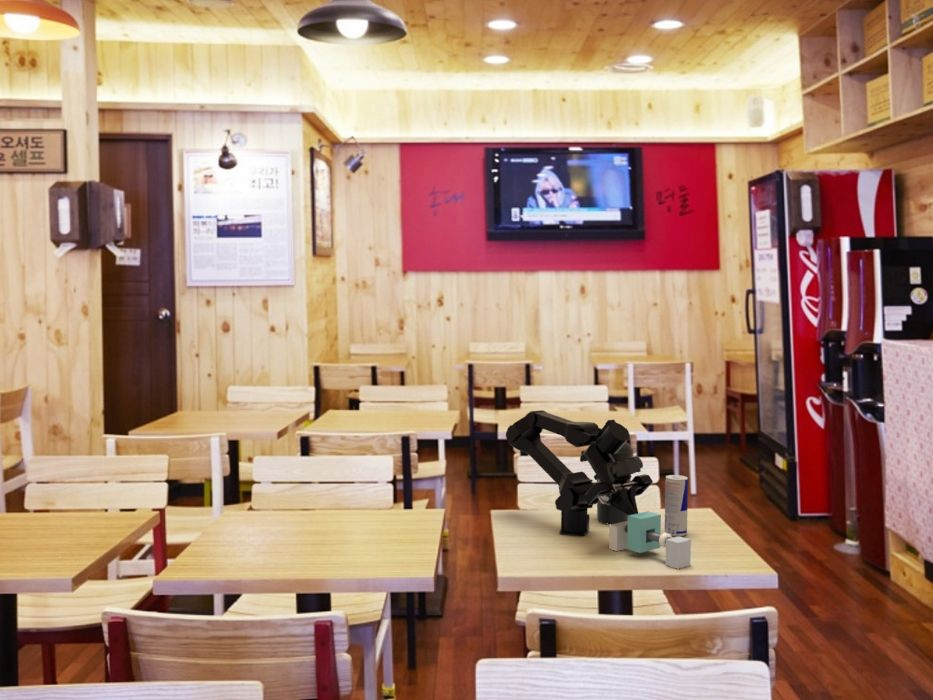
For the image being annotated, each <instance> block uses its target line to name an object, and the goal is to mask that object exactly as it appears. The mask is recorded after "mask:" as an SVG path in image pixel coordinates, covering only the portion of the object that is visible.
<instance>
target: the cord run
mask: <svg viewBox="0 0 933 700" xmlns="http://www.w3.org/2000/svg"><path fill="white" fill-rule="evenodd" d="M608 537H609V540H608V541H609V542H608V545H609V547H608V549H609V550H610V549H612V550H611V551H613V550H615V551H614V552H616V551H618V552H620V551H619V550H622V551H624V550H623V549H626V550H628V549H627V539H628V521H625V522H620V523H616V524H611V525H609V534H608ZM646 539H650V540H653V541H656V542H659V544H660V547H663V548H665V566H666V565H668V566H667V567H669V566H670V567H671V568H673V569H676V568H677V569H676V570H679V568H680V569H683V568H687V567H690V566H691V558H692V557H691V555H692V551H691V550H692V549H691V548H692V540H691V539H690V538H686V537H684V536H678V537H675V536H671V535H670V534H668V533H665V532H662V533H661V535H660V534H657V533H653V532H650V531H646Z"/></svg>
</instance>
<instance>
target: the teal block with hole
mask: <svg viewBox="0 0 933 700" xmlns="http://www.w3.org/2000/svg"><path fill="white" fill-rule="evenodd" d="M661 522H662V515H661V514H660V513H657V512H653V511H649V510H648V511H643V512H638V514H633V515H628V539H627V549H626V550H629V551H633V552H636V553H639V554H641V553H644V552H645V553H646V552H649V551H653V550H656V549H660V548H661V545H660V544H659V542H656V541H653V540H650V539H646V531H650V532H653V533H657V534H660V535H661V534H662V533H661V532H662V531H661V530H662V528H661V525H662V523H661Z"/></svg>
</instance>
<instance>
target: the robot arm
mask: <svg viewBox="0 0 933 700" xmlns="http://www.w3.org/2000/svg"><path fill="white" fill-rule="evenodd" d="M543 430H545V431H548V432H551V433H553V434H556V435H558V436H562V437H563V438H564V439H565V441H566V442H567V443H568V444H570V445H572V446H574V448H582V447H587V448H586V450H581V452H580V453H581V455H580V456H579V462H581V463H583V462H588V463H589V465H590V468H591V469H592V471H594V473H595V474H594V475H593V479H594V480H593V479H591V478H590V477H588V475H587V473H585V472H584V471H577V472H573V471H571V469H570V468H569V467H568V466H566V465H565V464H564V463H563V461H561V460H560V459H559V457H557V456H556V455H555V454H554V452H553V451H552V450H550V449H549V448H548V447H547V445H545V444H544V443H543V442H542V439H541V438H542V437H541V433H542V432H543ZM630 436H631V434H630V432H629V430H628V428H626V427H625V426H624V425H622V424H621V423H618V422H616V420H615V419H607V421H606V422H605V423H604V426H603V427H602V428H600V427H599V425H598V423H595V422H590V421H573V420H569V419H566V418H564V417H560V416H558V415H555V414H552V413H549V412H547V411H545V410H543V409H542V410H539V409H538V410H531V411H529V412H527V414H526V415H525V416H524V417H522V418H520V419H518V420H517V421H514V423H513V424H511V425H509V426H508V427H507V430H506V432H505V438H506V441H507V443H508V444H509V445H510V446H511V447H513V448H514V449H516V450H518V451H521V452H523V453H526V454H528V456H529V457H531V459H532V460H533V461H534V462H536V464H537V465H538V466H539V467H540V468H541V469H542V470H543V471H544V472H545V473H546V474H547V475H548V476H549V478H551V479H552V480H553V481H554V483H556V485H558V492H559V495H558V497H557V498H556V499H555V501H554V505H555V508H556V510H558V511H560V521H561V522H560V530H559V532H558V533H559V535H570V536H579V537H584V536H585V535H587V533H588V532H589V531H590V514H588V509H592V508H593V507H594V505H597V503H598V498H597V497H599V496H604V495H607V496H608V499H609V500H608V501H607V502H606V504H607V505H611V506H613V507H615V508H617V509H619V510H620V511H622V512H624V513H625V514H627V515H633V514H638V513H639V510H638V505H637V500H636V499H637V498H636V497H638V496H641V495H642V494H644V492H645V491H647V489H648V488H649V487H650V486H651V485H652V484H653V482H654V481H653V479H652V478H651V476H650V475H649V474H646V473H645V474H639V475H635V476H634V477H633V476H632V475H634V474H636V473H641V472H642V470H641V469H643V468H644V463H643V461H642V459H641V458H640V457H639V455H635V456H634V455H633V457H632V458H629V460H626V461H623V462H620V461H616V462H615V460H614V459H613V457H612V456H611V454H616V453H617V452H618V451H619V450H620V448H621V447H622V446H623V445H624V444H625V443H626V442H627V441H629V439H630ZM627 443H628V442H627ZM630 478H631V482H629V483H627V480H629V479H630ZM597 480H600V482H599V483H597V482H594V483H593V481H597Z"/></svg>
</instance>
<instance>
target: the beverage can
mask: <svg viewBox="0 0 933 700" xmlns="http://www.w3.org/2000/svg"><path fill="white" fill-rule="evenodd" d="M688 479H689V477H687V476H686V475H685V476H684V475H678V474H677V475H676V474H669V475H665V489H664V491H665V492H664V496H665V497H664V499H665V500H664V533H668V534H670V535H671V536H672V537H678V536H680V537H684V536H686V535H687V534H688V505H689V504H688V500H689V497H688V496H689V480H688Z"/></svg>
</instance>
